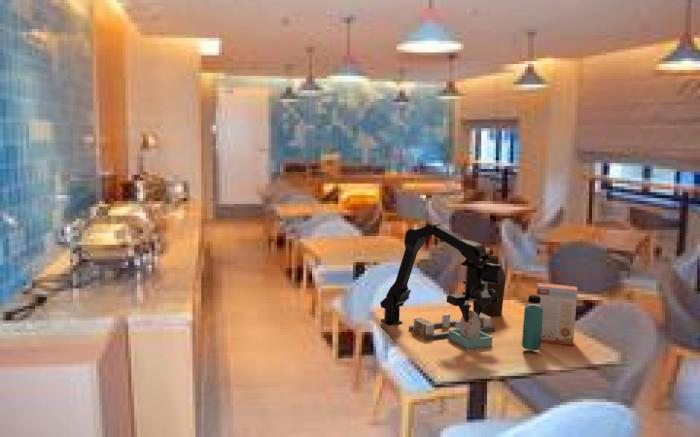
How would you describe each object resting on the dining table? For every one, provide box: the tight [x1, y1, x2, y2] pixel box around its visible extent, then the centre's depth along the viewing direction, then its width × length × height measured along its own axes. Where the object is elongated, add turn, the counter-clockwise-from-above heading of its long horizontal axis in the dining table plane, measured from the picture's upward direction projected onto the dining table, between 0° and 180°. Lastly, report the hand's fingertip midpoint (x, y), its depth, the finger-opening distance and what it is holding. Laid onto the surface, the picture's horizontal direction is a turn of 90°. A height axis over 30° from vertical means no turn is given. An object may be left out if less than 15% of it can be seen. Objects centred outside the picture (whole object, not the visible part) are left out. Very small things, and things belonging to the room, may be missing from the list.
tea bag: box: [460, 308, 481, 340], centre depth 228 cm, size 4×7×10 cm, turn 26°
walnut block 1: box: [413, 318, 434, 338], centre depth 236 cm, size 6×4×5 cm, turn 26°
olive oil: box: [481, 254, 507, 317], centre depth 266 cm, size 11×11×25 cm
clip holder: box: [408, 313, 496, 341], centre depth 242 cm, size 13×31×5 cm, turn 116°
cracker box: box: [535, 282, 578, 346], centre depth 233 cm, size 14×6×21 cm, turn 71°
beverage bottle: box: [521, 294, 543, 351], centre depth 221 cm, size 6×7×20 cm
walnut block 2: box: [479, 313, 490, 328], centre depth 248 cm, size 6×4×5 cm, turn 26°
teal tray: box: [447, 328, 493, 351], centre depth 229 cm, size 12×10×4 cm
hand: (470, 321), depth 228 cm, fingers closed on tea bag, 4 cm apart
